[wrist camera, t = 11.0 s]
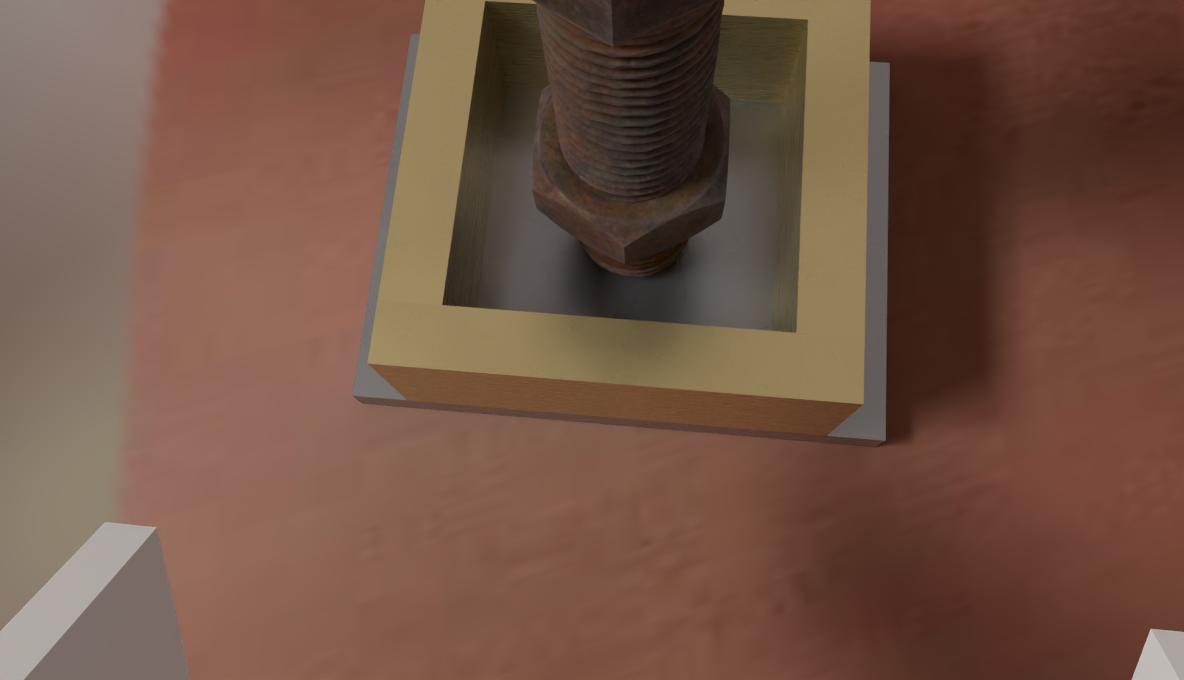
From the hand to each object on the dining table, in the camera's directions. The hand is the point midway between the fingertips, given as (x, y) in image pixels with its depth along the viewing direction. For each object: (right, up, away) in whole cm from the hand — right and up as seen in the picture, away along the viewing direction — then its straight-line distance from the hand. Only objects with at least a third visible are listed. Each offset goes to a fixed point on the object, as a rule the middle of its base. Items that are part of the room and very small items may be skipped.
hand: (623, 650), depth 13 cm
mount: (+1, +7, +14) cm, 16 cm away
